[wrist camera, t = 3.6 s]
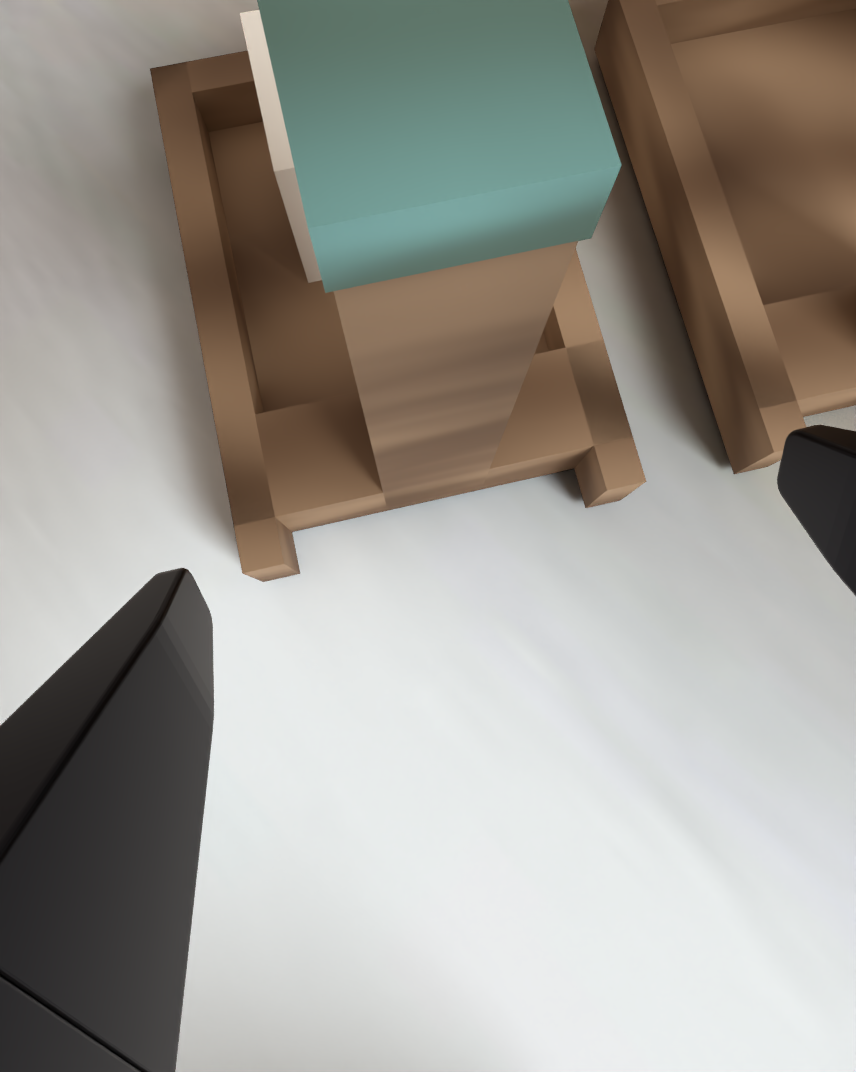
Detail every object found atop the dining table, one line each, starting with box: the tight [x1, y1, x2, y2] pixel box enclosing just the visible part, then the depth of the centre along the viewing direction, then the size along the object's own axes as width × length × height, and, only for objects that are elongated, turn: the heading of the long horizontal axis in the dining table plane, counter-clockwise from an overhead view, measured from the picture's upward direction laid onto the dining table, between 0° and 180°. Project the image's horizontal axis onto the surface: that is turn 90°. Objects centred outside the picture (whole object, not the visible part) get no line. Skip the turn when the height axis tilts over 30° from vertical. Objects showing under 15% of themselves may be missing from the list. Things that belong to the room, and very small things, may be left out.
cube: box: [240, 10, 322, 283], centre depth 19 cm, size 5×5×5 cm
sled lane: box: [150, 0, 646, 582], centre depth 15 cm, size 17×12×14 cm
